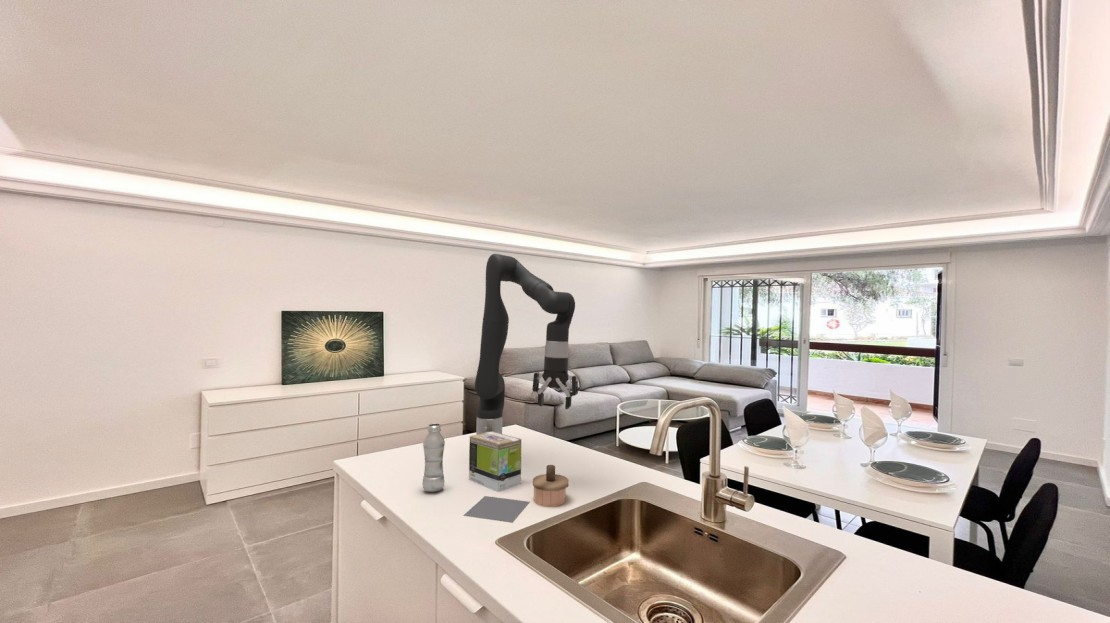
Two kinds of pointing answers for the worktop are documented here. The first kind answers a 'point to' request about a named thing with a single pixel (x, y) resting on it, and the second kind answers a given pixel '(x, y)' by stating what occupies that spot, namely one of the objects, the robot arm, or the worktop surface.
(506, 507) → the mat
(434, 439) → the plastic bottle
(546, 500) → the bowl
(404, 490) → the worktop surface
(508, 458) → the tea box
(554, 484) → the lid
